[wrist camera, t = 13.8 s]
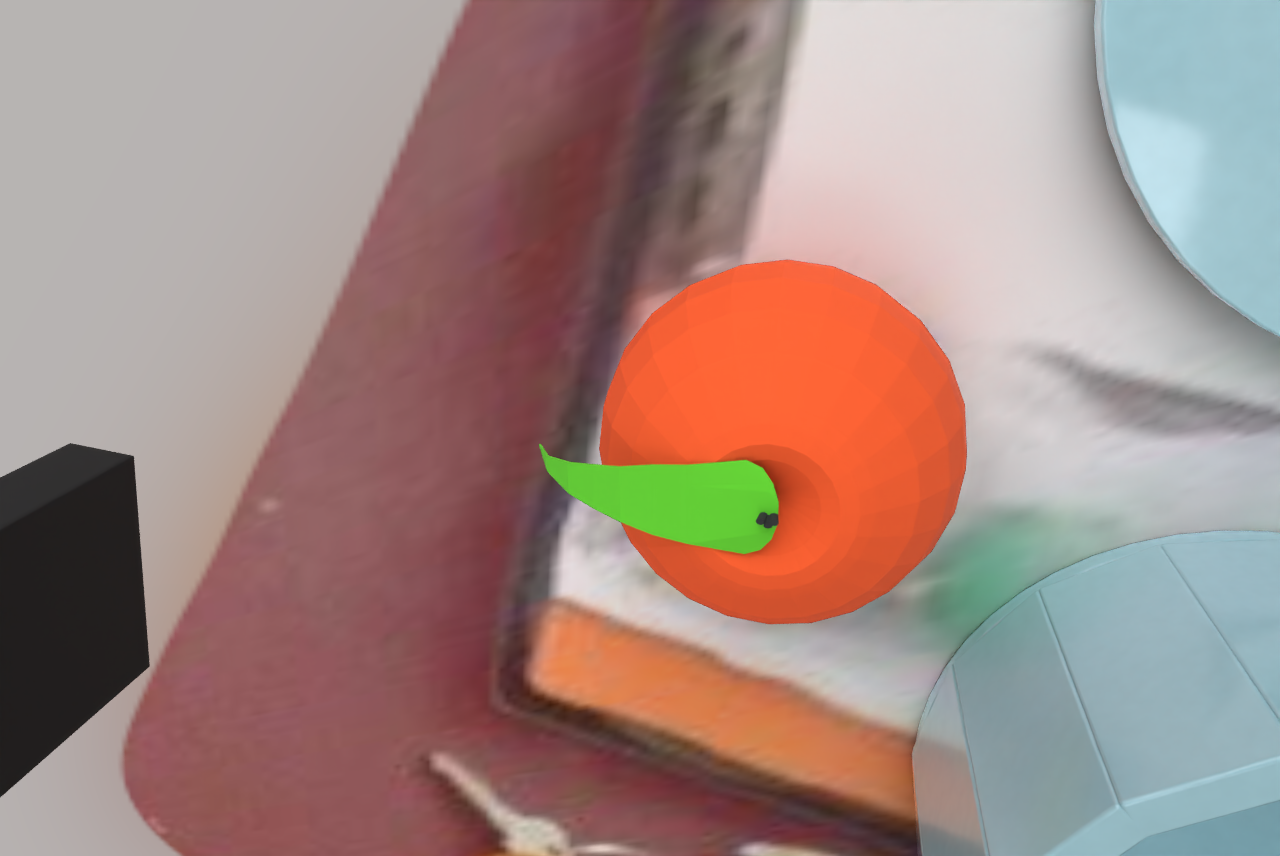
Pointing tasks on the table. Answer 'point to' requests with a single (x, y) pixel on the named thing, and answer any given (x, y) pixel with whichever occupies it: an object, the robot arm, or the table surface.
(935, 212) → the table surface
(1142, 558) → the pot
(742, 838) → the table surface
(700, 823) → the table surface
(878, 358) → the clementine
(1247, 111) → the lid
